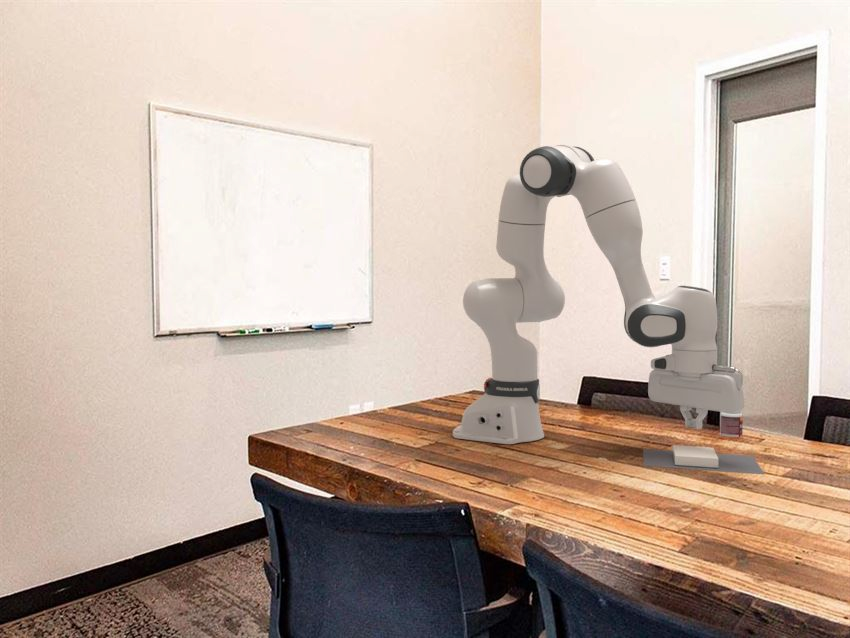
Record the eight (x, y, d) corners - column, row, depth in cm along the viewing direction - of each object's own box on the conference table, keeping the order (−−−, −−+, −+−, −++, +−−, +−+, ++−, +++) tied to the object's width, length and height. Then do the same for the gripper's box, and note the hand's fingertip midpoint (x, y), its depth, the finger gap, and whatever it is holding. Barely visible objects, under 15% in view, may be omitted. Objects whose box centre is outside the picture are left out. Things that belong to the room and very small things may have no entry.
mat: (643, 468, 130) (643, 465, 130) (643, 451, 144) (643, 448, 144) (764, 477, 124) (764, 474, 124) (752, 458, 137) (752, 455, 137)
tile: (672, 454, 138) (674, 465, 130) (672, 445, 138) (675, 455, 130) (713, 457, 136) (718, 468, 127) (713, 447, 136) (718, 458, 127)
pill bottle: (744, 442, 151) (745, 406, 150) (723, 441, 152) (723, 406, 151) (739, 437, 155) (739, 403, 155) (718, 436, 156) (718, 402, 156)
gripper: (750, 366, 129) (750, 434, 130) (661, 357, 146) (661, 418, 147) (733, 368, 126) (733, 439, 126) (644, 360, 142) (643, 422, 143)
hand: (693, 428), depth 137 cm, fingers closed
